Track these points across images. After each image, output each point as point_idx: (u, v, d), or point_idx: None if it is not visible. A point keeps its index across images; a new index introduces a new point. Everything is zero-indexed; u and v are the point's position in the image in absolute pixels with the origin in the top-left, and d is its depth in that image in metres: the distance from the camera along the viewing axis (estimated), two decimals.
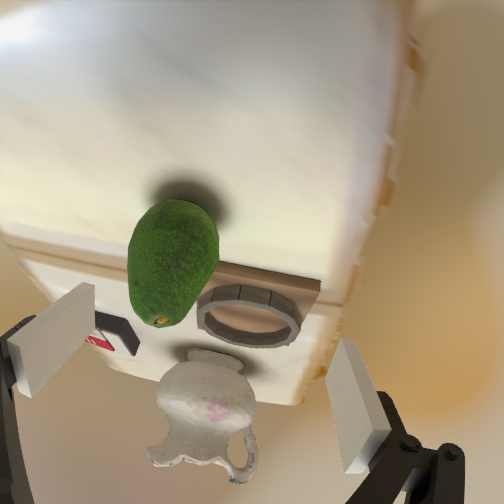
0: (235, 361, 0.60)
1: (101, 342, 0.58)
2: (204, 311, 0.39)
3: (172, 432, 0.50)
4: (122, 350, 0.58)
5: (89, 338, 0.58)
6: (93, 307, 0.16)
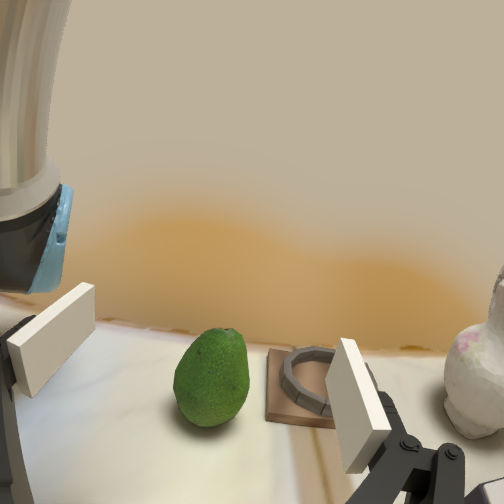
0: (449, 397, 0.41)
1: None
2: (322, 398, 0.35)
3: None
4: None
5: None
6: (93, 307, 0.16)
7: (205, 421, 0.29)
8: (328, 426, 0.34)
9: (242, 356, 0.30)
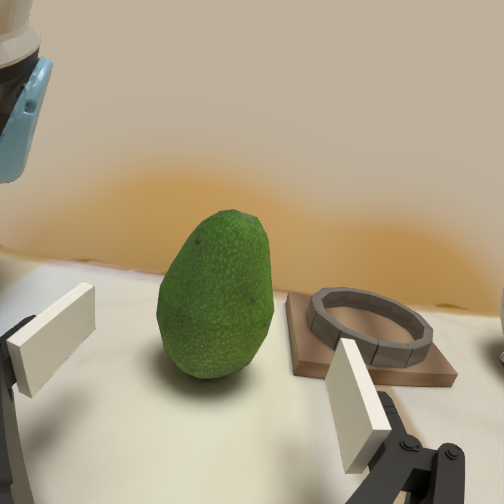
0: None
1: None
2: (372, 339, 0.25)
3: None
4: None
5: None
6: (93, 307, 0.16)
7: (205, 363, 0.19)
8: (381, 381, 0.24)
9: (265, 251, 0.20)
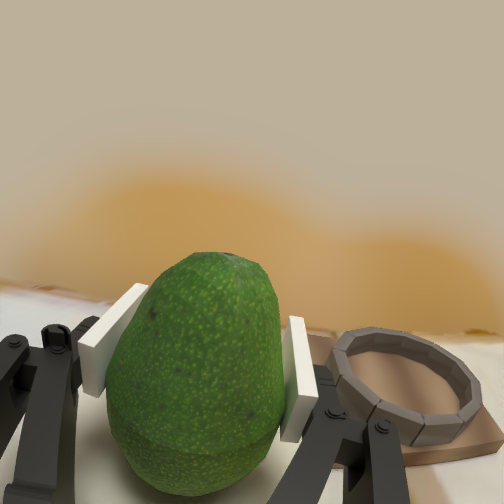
0: None
1: None
2: (415, 414, 0.16)
3: None
4: None
5: None
6: None
7: (179, 489, 0.10)
8: (421, 462, 0.15)
9: (273, 327, 0.11)
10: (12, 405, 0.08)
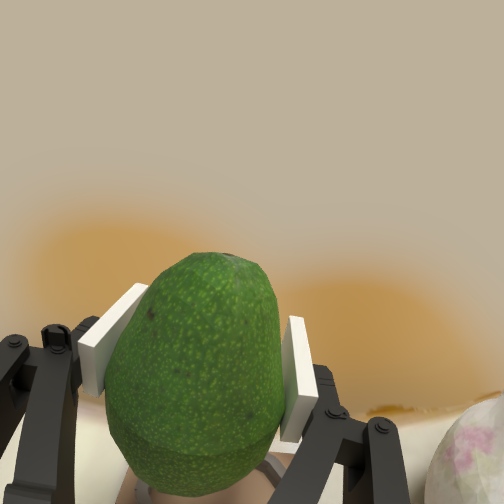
0: None
1: None
2: None
3: None
4: None
5: None
6: None
7: (178, 491, 0.10)
8: None
9: (272, 327, 0.11)
10: (12, 405, 0.08)
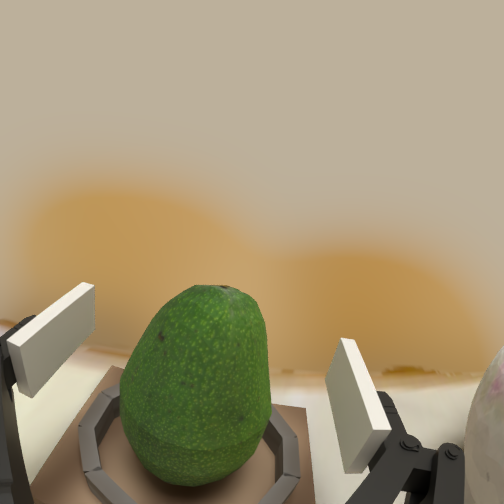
0: None
1: None
2: (129, 502, 0.11)
3: None
4: None
5: None
6: (93, 307, 0.16)
7: (182, 480, 0.12)
8: None
9: (260, 347, 0.13)
10: None
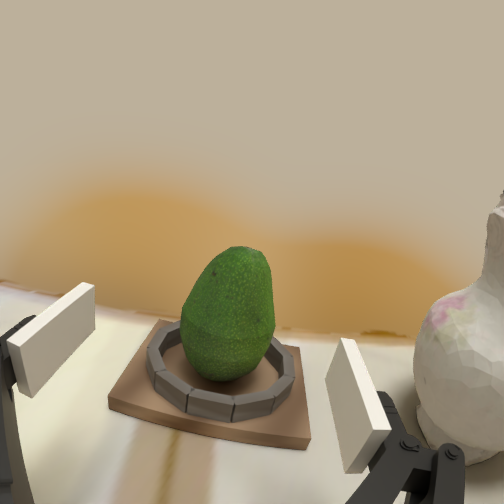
0: None
1: None
2: (186, 386, 0.22)
3: None
4: None
5: None
6: (93, 307, 0.16)
7: (221, 369, 0.24)
8: (201, 432, 0.22)
9: (268, 280, 0.25)
10: None
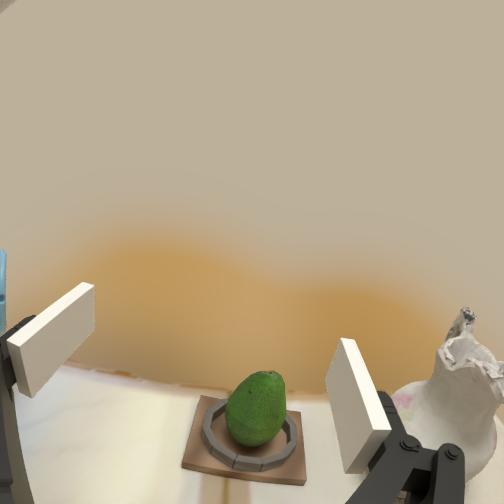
0: None
1: None
2: (233, 454, 0.34)
3: (464, 409, 0.28)
4: None
5: None
6: (93, 307, 0.16)
7: (253, 442, 0.35)
8: (241, 478, 0.34)
9: (283, 393, 0.37)
10: None
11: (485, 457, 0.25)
